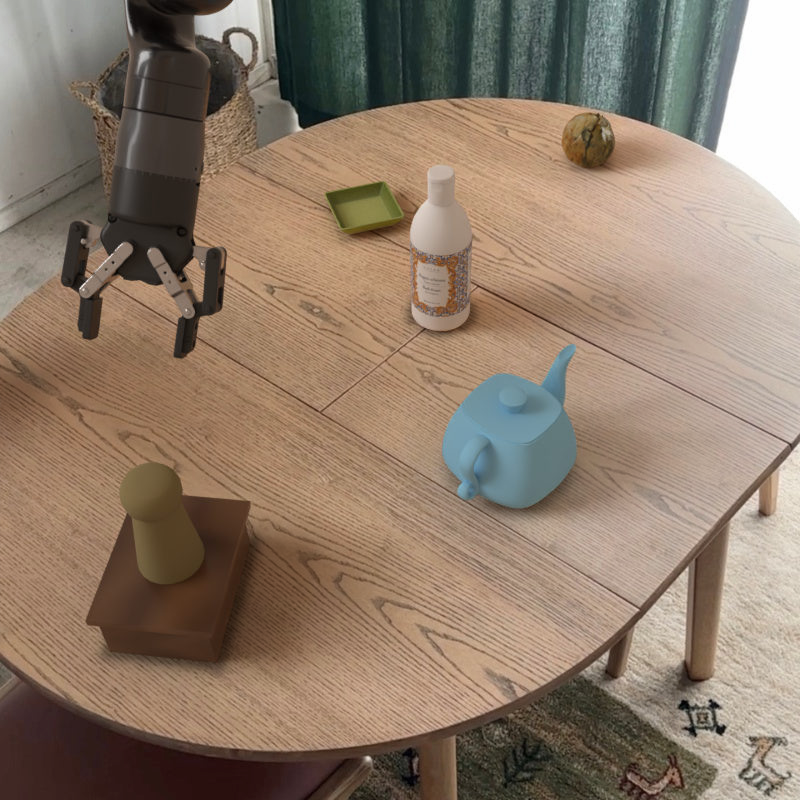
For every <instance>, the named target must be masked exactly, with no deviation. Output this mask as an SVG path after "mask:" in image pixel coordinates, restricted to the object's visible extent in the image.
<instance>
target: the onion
mask: <svg viewBox="0 0 800 800" xmlns="http://www.w3.org/2000/svg"><path fill="white" fill-rule="evenodd" d="M560 142H561V146H562V151H563V153H564V154H565V156H566V158H567V159H568V160H569V161H570V162H572V163H573V164H574V165H576V166H578V167H581V168H585V169H586V168H589V169H590V168H595V167H598V166H600V165H602V164H605V163H606V162H608V160H609V159H610V158H611V156H612V155H613V153H614V150H615V149H616V135H615V133H614V130H613V128H612V124H611V122H610V121H609V120H608V119H607V118H606V117H605V116H604V115H601V114H600V112H598V113H596V112H591V111H590V112H587V111H585V112H581V113H578V114H576V115H574V116H573V117H572V118H571V119H569V121H568V122H567V123H566V124H565V126H564V129H563V132H562V135H561V141H560Z"/></svg>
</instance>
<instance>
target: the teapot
mask: <svg viewBox="0 0 800 800" xmlns="http://www.w3.org/2000/svg"><path fill="white" fill-rule="evenodd" d="M576 351H577V346H576V344H574V343H570V344H568V345H566V346H564V348H562V349H561V350H560V351H559V352H558V353H557V356H556V357H555V359H554V360H553V362H552V364H551V366H550V368H549V370H548V372H547V373H546V375H545V377H544V379H543V380H542V382H541V383H540V385H539V384H537V383H536V382H533V381H531V380H529V379H527V378H524V377H521V376H519V375H515V374H512V373H506V372H500V373H496V374H495V373H494V374H493V375H491V376H489V377H488V378H486V379H485V380H483V381H482V382H481V383H480V384H478V386H477V387H475V388H474V389H472V391H470V393H469V394H468V395H467V396H466V397H465V399H464V400H463V401H462V402H461V403H460V405H459V406H458V407H457V408H456V410H455V411H454V413H453V415H451V417H450V420H449V421H448V424H447V426H446V427H445V428H446V429H445V431H444V433H443V434H444V435H443V437H442V438H443V439H442V444H441V454H442V455H441V456H442V458H443V461H444V463H445V465H446V466H447V468H448V470H449V471H450V472H451V473H452V474H453V475H454V476H455V477H456V478H457V479H458V480H459V481H460V484H459V485H458V487H457V495H458V497H459V498H460V499H461V500H464V501H471V500H473V499H475V498H476V496H477V495H478V496H480V498H481V497H482V498H483V499H485V500H487V501H490V502H491V503H494V504H496V505H500V506H503V507H505V508H510V509H526V508H529V507H531V506H534V505H536V504H537V503H539V502H540V501H542V500H544V499H545V498H546V497H547V496H548V495H550V493H552V492H553V491H554V490H556V488H557V487H559V486H560V484H562V482H563V481H564V480H565V479H566V477H567V476H568V474H569V473H570V471H571V470H572V468H573V467H574V465H575V463H576V460H577V454H578V446H577V437H576V433H575V429H574V426H573V424H572V421H571V419H570V417H569V415H568V413H567V411H566V410H565V408H564V405H565V401H566V393H567V392H566V384H567V383H566V379H567V371H568V367H569V365H570V362H571V361H572V358H573V357H574V354H576Z"/></svg>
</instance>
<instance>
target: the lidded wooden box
mask: <svg viewBox="0 0 800 800" xmlns="http://www.w3.org/2000/svg"><path fill="white" fill-rule="evenodd" d="M181 502H182V504H183V506H184V508H185V510H186V512H187V514H188V516H189V518H190V520H191V522H192V524H193V525H194V527H195V529H196V531H197V533H198V535H199V537H200V539H201V541H202V543H203V546H204V550H205V553H204V560H203V562H202V564H201V566H200V568H199V569H198V570H197V571H196V572H195V573H194V574H193V575H192V576H190V577H189V578H187V579H185V580H184V581H181V582H178V583H174V584H158V583H154V582H151V581H149V580H148V579H146V578H145V577H144V576H143V575H142V573H141V572H140V571H139V567H138V562H137V555H136V547H135V538H134V530H133V522H132V517H131V516H129V514H128V513H127V512H126V514H125V516H124V520H123V522H122V525H121V527H120V530H119V532H118V535H117V538H116V540H115V543H114V545H113V547H112V549H111V552H110V556H109V557H108V558H109V559H108V561H107V563H106V565H105V568H104V571H103V573H102V576H101V579H100V581H99V584H98V587H97V589H96V592H95V595H94V597H93V599H92V601H91V605H90V607H89V610H88V612H87V614H86V618H85V621H84V622H85V623H86V626H90V627H99V630H100V632H101V634H102V637H103V639H104V641H105V643H106V646H107V648H108V651H109V652H114V653H124V654H132V655H133V654H134V655H142V656H152V657H161V658H171V659H180V660H190V661H199V662H208V663H218V659H219V658H220V657H219V656H220V652H221V649H222V645H223V642H224V639H225V636H226V631H227V628H228V624H229V621H230V618H231V613H232V610H233V607H234V603H235V599H236V596H237V592H238V589H239V585H240V581H241V578H242V574H243V571H244V567H245V564H246V560H247V557H248V552H249V550H250V545H251V539H250V535H249V531H248V526H247V521H248V517H249V514H250V511H251V507H252V505H251V500H244V499H232V498H222V497H209V496H197V495H186V494H182V500H181Z"/></svg>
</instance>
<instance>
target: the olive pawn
mask: <svg viewBox="0 0 800 800" xmlns="http://www.w3.org/2000/svg"><path fill="white" fill-rule="evenodd" d="M118 491H119V492H118V495H119V502H120V504H121V507H122V509H123V510H124V511H125V512H126V514H127V513H128V514H129V516H131V517H132V522H133V530H134V538H135V547H136V555H137V562H138V567H139V571H140V572H141V573H142V575H143V576H144V577H145V578H146V579H148V580H149V581H151V582H154V583H158V584H174V583H178V582H181V581H184V580H185V579H187V578H189V577H190V576H192V575H193V574H194V573H195V572H196V571H197V570H198V569H199V568H200V566H201V564H202V562H203V560H204V553H205V550H204V546H203V543H202V541H201V539H200V537H199V535H198V533H197V531H196V529H195V527H194V525H193V524H192V522H191V520H190V518H189V516H188V514H187V512H186V510H185V508H184V506H183V504H182V502H181V500H182V495H183V492H184V487H183V484H182V481H181V478H180V476H179V475H178V474H177V472H176V471H175V470H174V468H172V467H170V466H168V465H167V464H164V463H161V462H158V461H152V462H150V461H149V462H148V461H147V462H144V463H140V464H138V465H136V466H135V467H132V468H131V469H130V470H129V471H128V472H127V473H126V474H125V476H123V479H122V480H121V482H120V485H119V490H118Z"/></svg>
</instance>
